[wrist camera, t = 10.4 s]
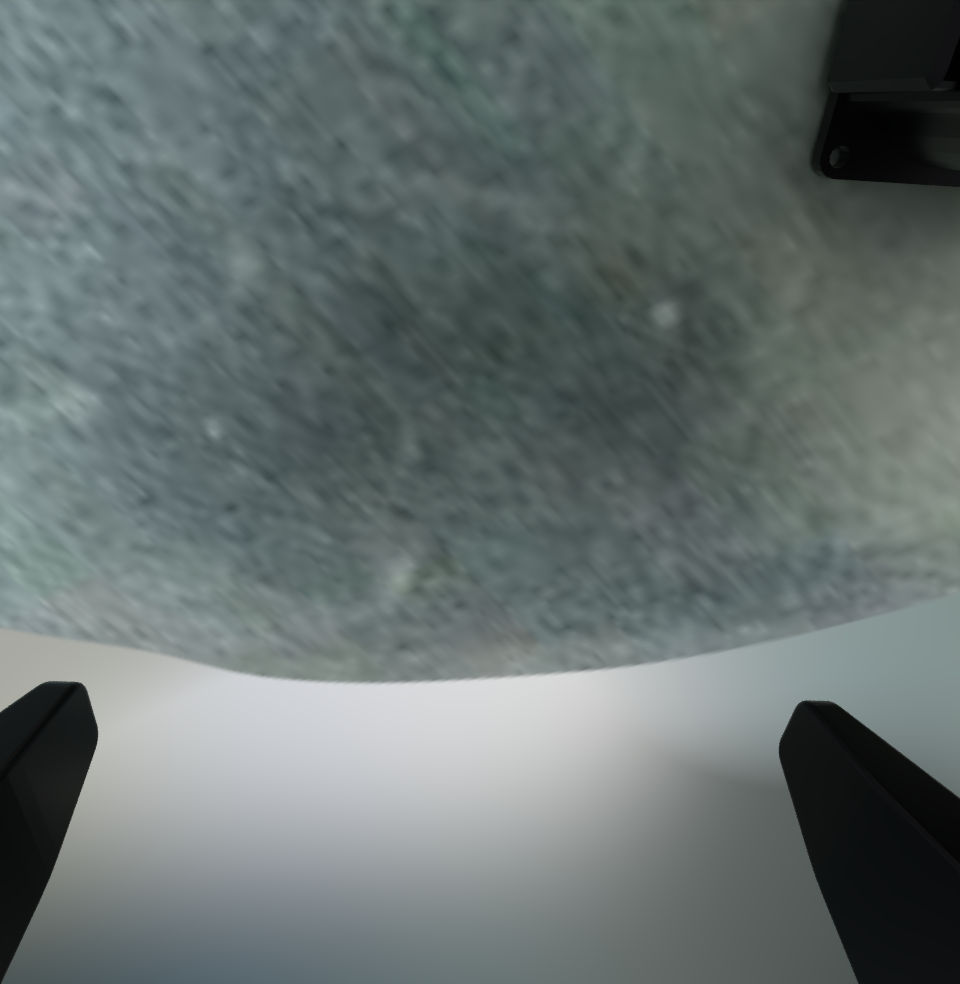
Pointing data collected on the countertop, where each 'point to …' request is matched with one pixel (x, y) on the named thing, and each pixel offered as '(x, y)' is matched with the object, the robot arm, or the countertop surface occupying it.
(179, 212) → the countertop surface
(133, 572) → the countertop surface
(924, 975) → the robot arm
